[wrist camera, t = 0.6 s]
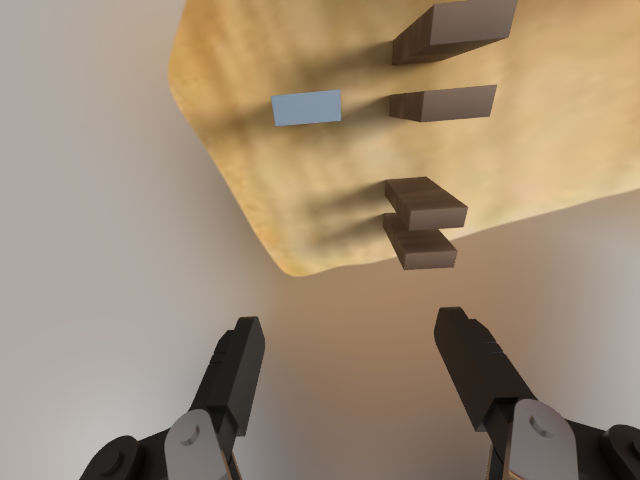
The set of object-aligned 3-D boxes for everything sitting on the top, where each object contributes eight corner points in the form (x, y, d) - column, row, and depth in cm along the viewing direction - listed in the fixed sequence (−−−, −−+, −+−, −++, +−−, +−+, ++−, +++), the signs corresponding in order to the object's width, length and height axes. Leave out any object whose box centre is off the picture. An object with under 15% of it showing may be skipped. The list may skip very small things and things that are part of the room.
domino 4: (385, 179, 30) (410, 210, 22) (426, 176, 30) (468, 207, 21) (385, 195, 31) (408, 230, 23) (424, 192, 31) (463, 227, 22)
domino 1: (288, 97, 26) (270, 96, 17) (334, 93, 26) (340, 89, 17) (290, 118, 27) (275, 126, 18) (335, 114, 27) (341, 120, 18)
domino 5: (384, 213, 33) (405, 253, 24) (421, 211, 32) (457, 250, 24) (383, 226, 34) (404, 269, 25) (419, 224, 33) (453, 267, 25)
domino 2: (393, 40, 24) (434, 4, 15) (446, 34, 23) (518, -5, 15) (392, 65, 25) (429, 45, 16) (442, 60, 24) (508, 37, 16)
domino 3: (390, 94, 26) (424, 91, 17) (438, 90, 26) (497, 84, 17) (389, 115, 27) (421, 122, 18) (435, 111, 27) (489, 116, 18)
